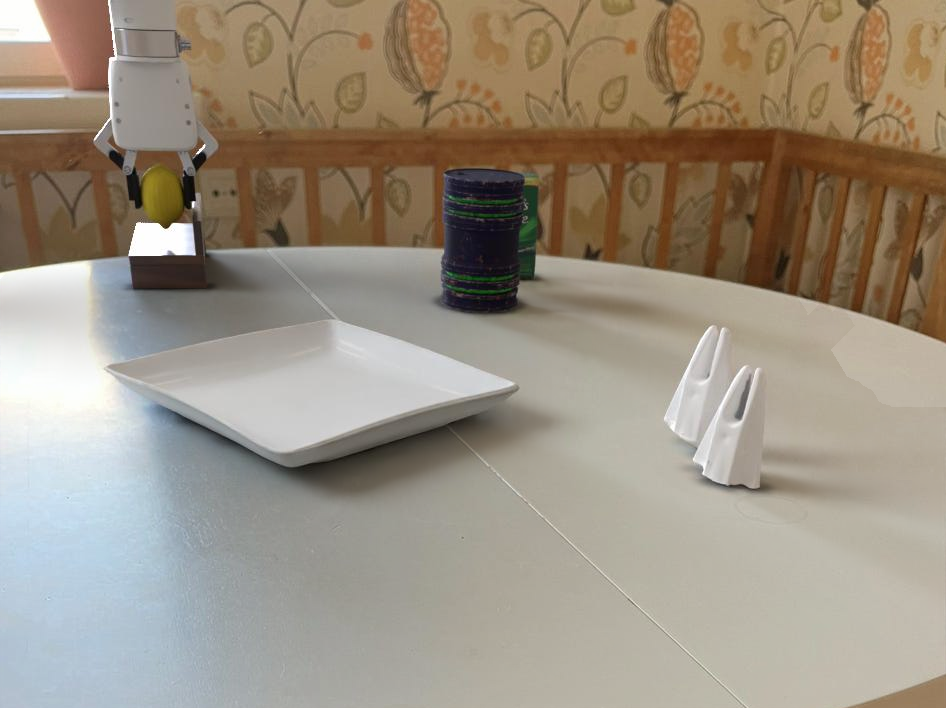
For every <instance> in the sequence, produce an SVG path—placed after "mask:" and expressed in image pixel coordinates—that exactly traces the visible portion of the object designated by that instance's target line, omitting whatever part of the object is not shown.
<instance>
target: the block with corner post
mask: <svg viewBox="0 0 946 708" xmlns="http://www.w3.org/2000/svg"><path fill="white" fill-rule="evenodd" d="M195 193H196V201H192V223H191V222H190V223H185V222H184V223H181V222H179V223H177V222H175V223H173V224H172V225H171V226H170V228H169V229H163V228H162V227H161V226H160V225H159V224H158V223H156V222H153V223H148V222H147V223H145V222H144V223H143V222H142V223H141V222H137V223H136V226H135V230H134V233H133V237H132V240H131V245H130V250H129V253H128V261H129V271H130V275H131V276H130V277H131V284H132V285H131V286H132V289H133V290H135V289H136V290H137V289H140V290H141V289H142V290H143V289H144V290H145V289H146V290H147V289H207V288H208V282H207V281H208V280H207V271H206V269H207V268H206V256H207V246H206V236H205V226H204V213H203V203H202V202H203V201H202V193H201V192H195Z"/></svg>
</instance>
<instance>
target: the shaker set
mask: <svg viewBox="0 0 946 708" xmlns="http://www.w3.org/2000/svg"><path fill="white" fill-rule="evenodd" d="M731 357H732V334H731V330H730V329H729V328H727V327H726V326H724V327H722V328H721V329H720V332H719V331H718V327H717V325H715V324H714V325H710V326H709V327H708V328H707V329H706V331H705V332H704V334H703V336H702V337H701V338H700V340H699V342H698V343H697V346H696V348H695V351H694V353H693V355H692V357H691V359H690V362H689V364H688V365H687V368H686V370H685V372H684V374H683V375H682V378H681V380H680V382H679V385H678V386H677V389H676V391H675V393H674V395H673V397H672V399H671V402H670V404H669V406H668V408H667V410H666V413H665V415H664V417H663V421H664V423H665V424H666V426H667V427H668V428H670V429H671V430H672V432H673V433H674V434H676V435H677V436H678V437H679V438H681V439H682V440H683V441H685V442H686V443H688V444H690V445H691V446H693V447H694V448H696V449H697V450H696V452H695V454H694V455H693V458H692V462H693V463H695V464H697V465H700V466H702V468H703V471H702V472H701V474H702V475H703V476H704V477H707V478H708V479H710V480H711V482H715V483H717V484H720V485H726V486H730V485H732V486H737V485H743V486H746V487H747V488H748V489H751V490H753V489H758V488H760V487H761V474H762V473H761V472H762V461H763V448H764V436H765V435H764V434H765V414H766V385H767V378H766V372H765V370H764V369H763V368H761V367H757V368H756V369H755V372H754V375H753V378H752V366H750V365H748V364H746V365H744V366H742V367H741V369H740V370H738V373H737V374H736V376H735V377H734V378H733V381H732V382H731V363H732V362H731Z"/></svg>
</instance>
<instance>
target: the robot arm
mask: <svg viewBox="0 0 946 708" xmlns="http://www.w3.org/2000/svg"><path fill="white" fill-rule="evenodd" d="M108 6H109V8H108V9H109V15H110V24H111V31H112V40H113V48H114V49H113V50H114V57H110V58H109V62H108V63H109V64H108V85H109V86H108V88H109V106H110V118H109V119H108V120H107V122H106V123H105V124H104V126H103V127H102V129H101V130H100V131H99V132H98V134H97V135H96V136H95V138H94V139H93V145H94V147H96V148H97V149H98V150H99V151H100V152H101V153H102V154H104V155H105V156H106V157H108V158H109V160H110V161H111V162H112V163H114V165H116V167H118V168H119V169H120V170H121V171H122V172H123V174H124V175H125V178H126V185H127V186H126V187H127V194H128V195H127V196H128V201H130V202H132V201H133V203H134V209H136V210H140V209H142V208H143V207H142V204H141V199H140V185H141V180H140V175H139V174H140V173H139V172H138V171H137V167H136V166H135V164H136V161H137V160H136V159H137V156H138V155H137V154H138V151H149V152H150V151H153V152H159V151H160V152H177V154H178V155H177V156H178V157H179V159H180V162H181V165H182V167H183V169H182V170H183V171H182V172H183V173H182V176H181V178H182V186H183V190H184V200H185V208H184V209H187V210H192V202H193V201H196V193H197V192H196V182H195V175H196V173H197V172H198V171H199V170H200V169H201V167H203V165H204V164H205V163H206V162H207V160H208V159H209V158H210V157H211V156H212V155H213V154H214V153H215V152H216V151H217V150H219V142H218V140H217V139H215V137H214V136H213V135H212V134H211V133H210V132H209V130H208V129H207V128H206V127H205V126H204V125H203V124H202V123H201V122H200V120H199V119H198V118H197V111H196V103H195V96H194V89H193V84H192V78H191V74H190V69H189V65H188V62H187V60H182V59H181V57H180V55H181V54H182V53H183V52H186V51H192V42H191V37H185V36H184V35H181V34H180V33H178V24H177V23H178V22H177V11H176V1H175V0H108ZM112 135H113V140H114V142H115V144H116V146H118V147H119V148H121V149H123V150H125V155H123V154H122V153H121V152H120V151H119V150H118V149H117V148H115V147H114V146H113V145H111V143H110V142H109V139H110V138H111V137H112ZM198 139H200V140H201V141H202V142H203V143H204V145H203V146H202V148H200V149H199V151H197V153H196V154H195V155H194V156H193V157H192V155H191V153H190V151H191V150H193V149H195V148H196V147H197V145H198Z"/></svg>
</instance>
